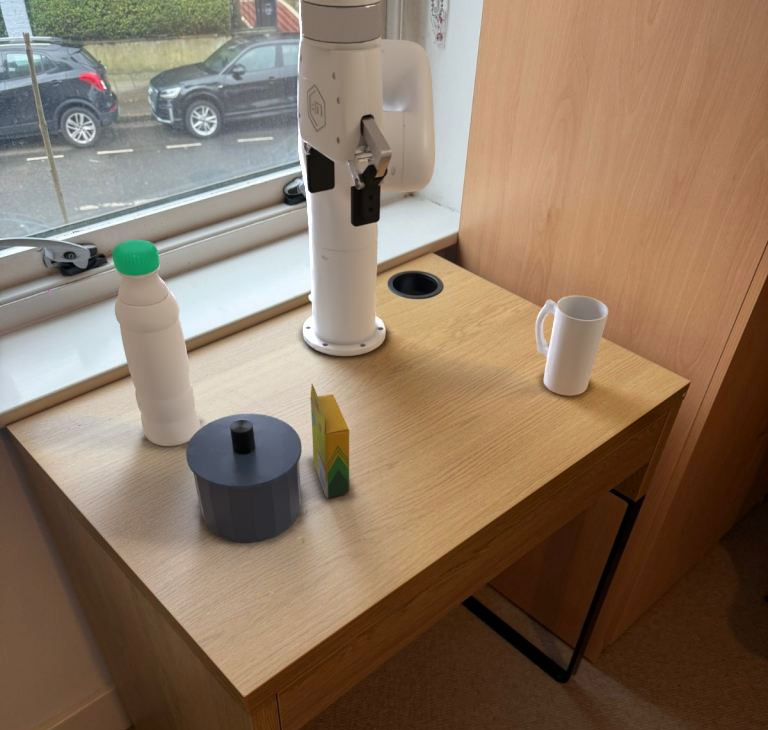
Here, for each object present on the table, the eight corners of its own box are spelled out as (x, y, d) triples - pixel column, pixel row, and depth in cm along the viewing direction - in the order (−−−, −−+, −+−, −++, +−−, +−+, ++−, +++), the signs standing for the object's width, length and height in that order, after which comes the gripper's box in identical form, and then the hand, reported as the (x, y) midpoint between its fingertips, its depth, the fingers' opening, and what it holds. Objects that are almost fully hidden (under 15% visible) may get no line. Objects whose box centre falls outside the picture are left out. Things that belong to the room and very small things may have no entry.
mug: (598, 385, 109) (618, 309, 101) (569, 403, 106) (588, 326, 97) (543, 355, 114) (558, 281, 106) (514, 372, 111) (527, 296, 102)
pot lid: (164, 454, 83) (157, 425, 80) (253, 407, 90) (249, 378, 87) (235, 511, 77) (231, 481, 74) (325, 456, 84) (324, 426, 81)
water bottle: (210, 422, 100) (180, 238, 83) (183, 454, 95) (144, 266, 78) (163, 410, 102) (123, 227, 84) (134, 441, 97) (85, 254, 80)
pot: (182, 507, 89) (170, 450, 83) (258, 462, 95) (252, 407, 89) (244, 558, 83) (235, 502, 77) (320, 507, 89) (318, 451, 83)
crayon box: (350, 495, 91) (350, 417, 83) (326, 499, 90) (323, 421, 82) (335, 456, 96) (333, 379, 88) (312, 460, 95) (308, 382, 87)
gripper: (263, 6, 74) (276, 184, 86) (351, 48, 64) (351, 245, 76) (331, -1, 77) (334, 173, 89) (426, 39, 67) (415, 230, 79)
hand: (342, 206), depth 82 cm, fingers open, 9 cm apart
